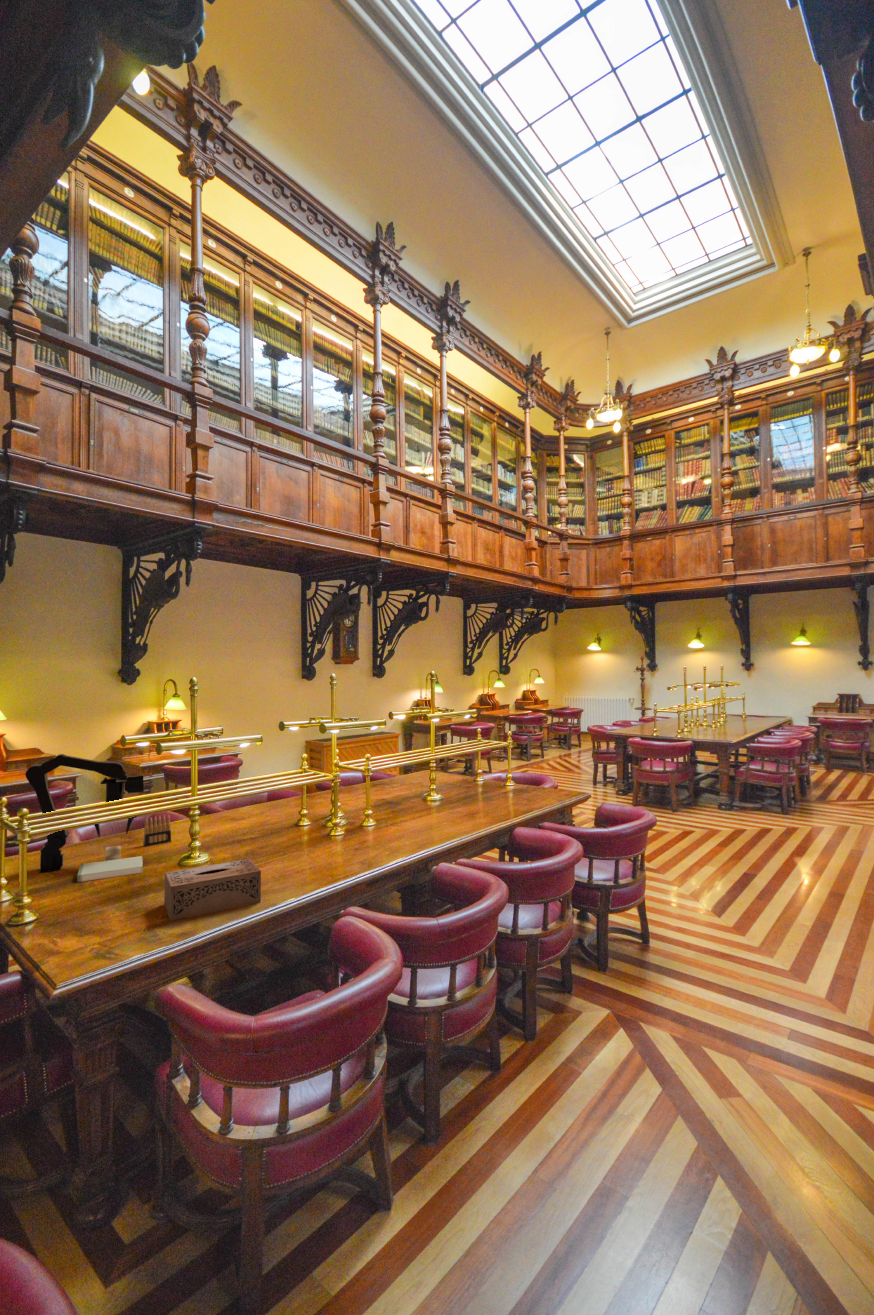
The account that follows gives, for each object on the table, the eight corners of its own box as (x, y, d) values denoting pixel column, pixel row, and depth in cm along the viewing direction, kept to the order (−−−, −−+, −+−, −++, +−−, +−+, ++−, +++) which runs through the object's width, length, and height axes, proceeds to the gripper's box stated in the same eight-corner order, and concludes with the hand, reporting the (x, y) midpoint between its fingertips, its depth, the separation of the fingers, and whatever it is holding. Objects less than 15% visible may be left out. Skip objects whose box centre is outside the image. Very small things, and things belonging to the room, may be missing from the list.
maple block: (105, 864, 216) (105, 850, 216) (105, 860, 220) (106, 847, 221) (120, 862, 218) (120, 849, 218) (120, 858, 223) (120, 845, 223)
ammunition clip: (144, 847, 238) (144, 818, 239) (143, 846, 240) (143, 817, 240) (171, 842, 246) (171, 814, 246) (169, 841, 247) (170, 813, 248)
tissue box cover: (249, 889, 189) (249, 858, 190) (260, 903, 177) (260, 870, 178) (164, 905, 176) (164, 872, 176) (170, 922, 164) (170, 886, 164)
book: (77, 882, 196) (77, 875, 196) (80, 871, 208) (80, 863, 208) (142, 873, 205) (142, 866, 205) (142, 862, 218) (142, 855, 218)
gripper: (84, 800, 209) (83, 843, 208) (141, 796, 218) (140, 837, 217) (86, 795, 219) (85, 836, 218) (141, 791, 228) (140, 830, 227)
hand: (113, 835), depth 220 cm, fingers open, 9 cm apart
